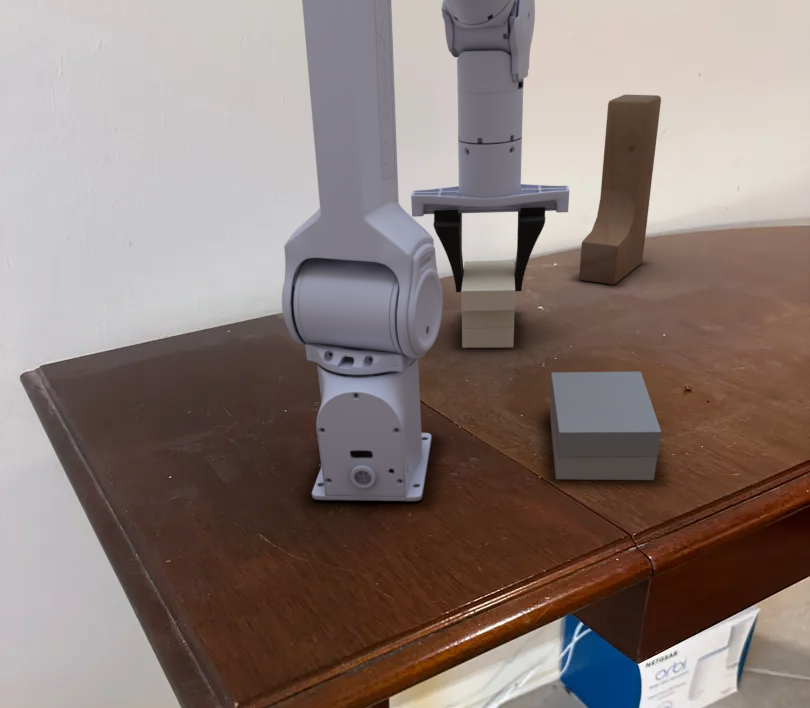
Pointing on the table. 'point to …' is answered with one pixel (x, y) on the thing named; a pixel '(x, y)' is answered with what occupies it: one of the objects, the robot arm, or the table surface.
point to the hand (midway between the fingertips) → (488, 288)
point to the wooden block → (623, 190)
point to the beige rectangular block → (488, 286)
